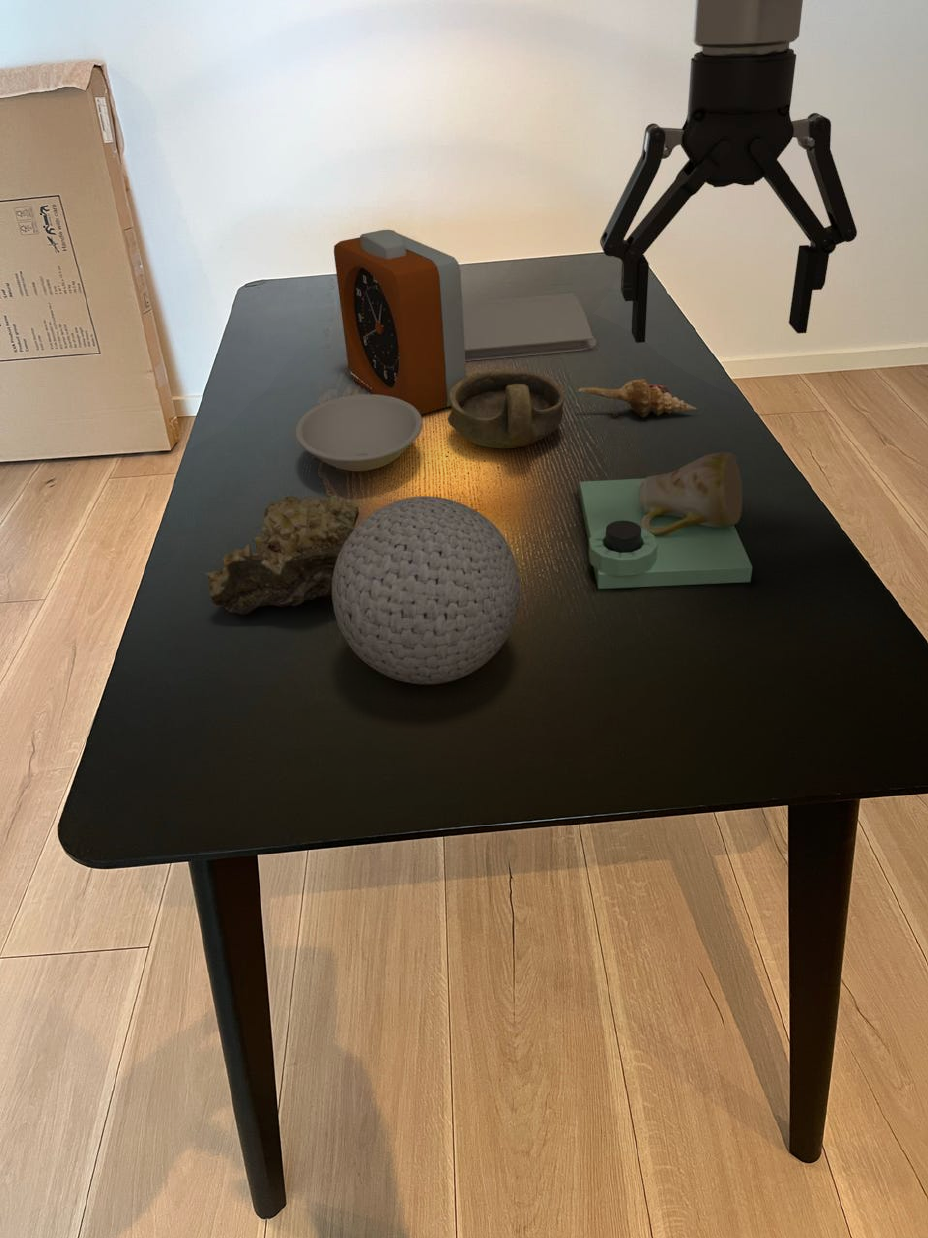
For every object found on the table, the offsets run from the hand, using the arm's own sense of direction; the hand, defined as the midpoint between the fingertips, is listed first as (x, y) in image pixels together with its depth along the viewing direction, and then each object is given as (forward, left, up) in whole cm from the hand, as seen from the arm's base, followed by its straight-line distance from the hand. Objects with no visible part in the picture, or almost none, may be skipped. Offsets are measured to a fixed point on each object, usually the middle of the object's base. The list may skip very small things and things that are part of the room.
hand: (717, 333), depth 84 cm
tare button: (-5, +8, -18) cm, 20 cm away
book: (+59, +16, -21) cm, 65 cm away
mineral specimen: (-5, +39, -21) cm, 44 cm away
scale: (+1, +4, -21) cm, 21 cm away
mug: (+1, +1, -19) cm, 19 cm away
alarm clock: (+41, +31, -21) cm, 55 cm away
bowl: (+23, +18, -21) cm, 36 cm away
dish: (+20, +35, -21) cm, 45 cm away
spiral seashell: (+30, +2, -21) cm, 37 cm away
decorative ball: (-18, +26, -21) cm, 38 cm away
